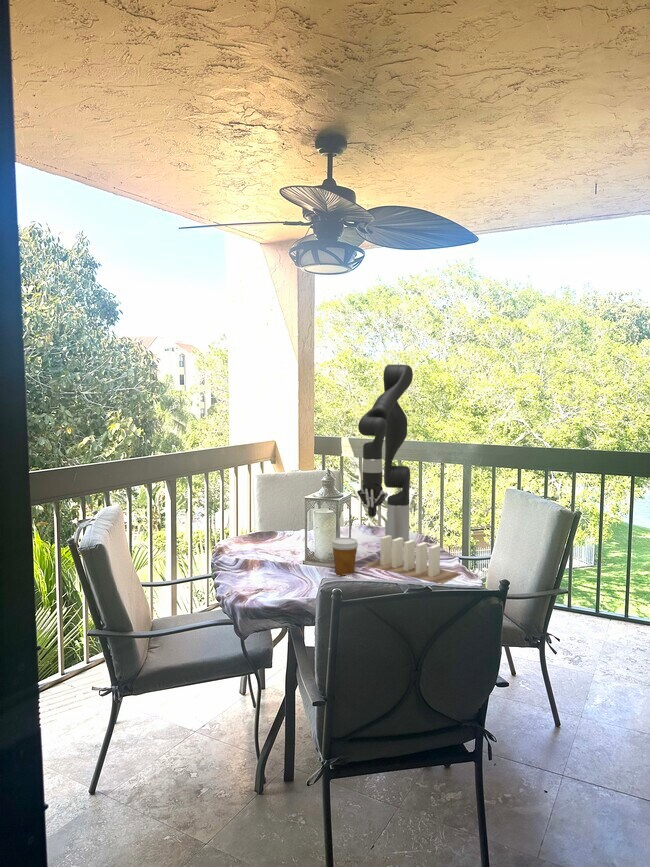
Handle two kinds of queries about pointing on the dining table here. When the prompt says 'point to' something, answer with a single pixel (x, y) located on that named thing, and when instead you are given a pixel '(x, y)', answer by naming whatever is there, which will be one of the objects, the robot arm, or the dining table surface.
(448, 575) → the walnut board
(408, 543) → the domino
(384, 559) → the domino
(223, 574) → the dining table surface
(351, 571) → the disposable coffee cup
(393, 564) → the domino
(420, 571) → the domino
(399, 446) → the robot arm
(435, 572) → the domino
